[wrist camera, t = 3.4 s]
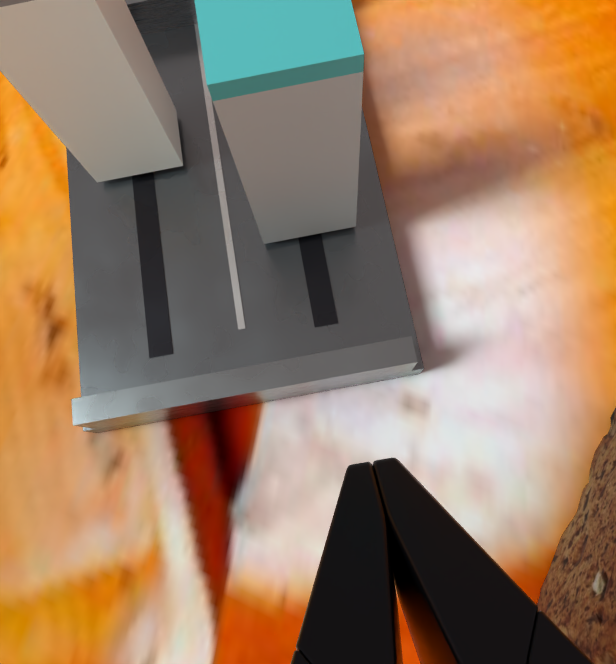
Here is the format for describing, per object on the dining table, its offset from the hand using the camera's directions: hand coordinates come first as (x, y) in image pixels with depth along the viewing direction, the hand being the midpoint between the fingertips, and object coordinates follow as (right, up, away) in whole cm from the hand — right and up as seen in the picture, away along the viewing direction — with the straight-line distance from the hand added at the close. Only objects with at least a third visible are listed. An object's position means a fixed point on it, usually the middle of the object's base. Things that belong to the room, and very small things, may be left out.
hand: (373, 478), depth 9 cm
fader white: (-9, +11, +15) cm, 21 cm away
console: (-5, +9, +16) cm, 19 cm away
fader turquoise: (-1, +8, +14) cm, 16 cm away
